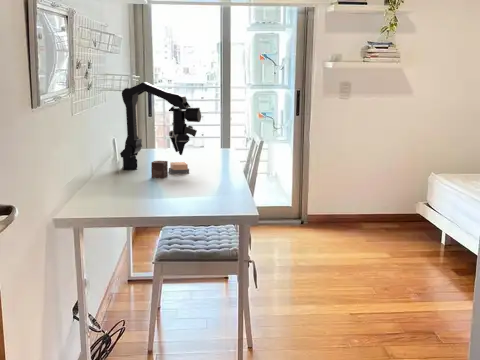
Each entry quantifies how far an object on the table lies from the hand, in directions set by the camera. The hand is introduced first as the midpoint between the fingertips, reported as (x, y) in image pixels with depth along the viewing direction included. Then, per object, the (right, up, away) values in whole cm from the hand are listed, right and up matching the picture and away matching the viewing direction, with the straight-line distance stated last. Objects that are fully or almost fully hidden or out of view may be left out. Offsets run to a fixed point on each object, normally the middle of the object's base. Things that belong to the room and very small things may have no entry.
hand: (178, 153), depth 261 cm
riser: (0, -9, +2) cm, 9 cm away
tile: (0, -7, +1) cm, 7 cm away
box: (-8, -12, -10) cm, 17 cm away
